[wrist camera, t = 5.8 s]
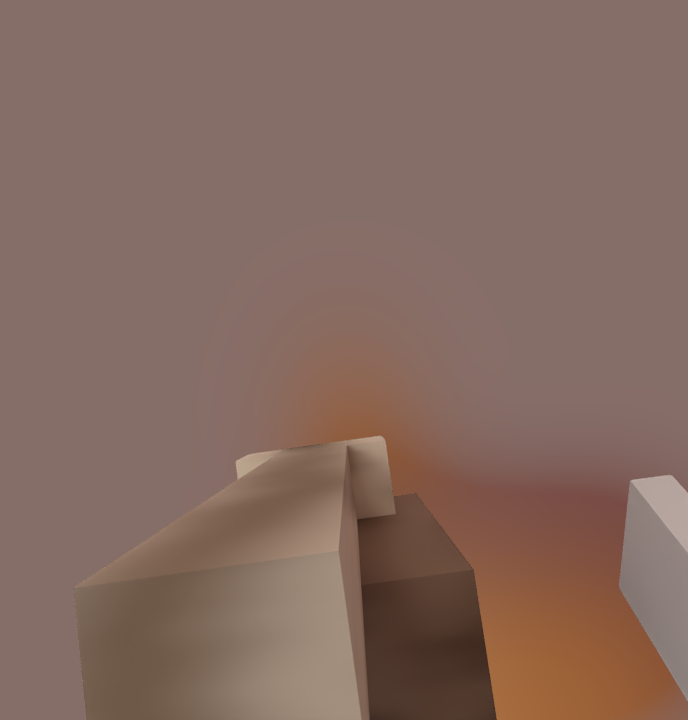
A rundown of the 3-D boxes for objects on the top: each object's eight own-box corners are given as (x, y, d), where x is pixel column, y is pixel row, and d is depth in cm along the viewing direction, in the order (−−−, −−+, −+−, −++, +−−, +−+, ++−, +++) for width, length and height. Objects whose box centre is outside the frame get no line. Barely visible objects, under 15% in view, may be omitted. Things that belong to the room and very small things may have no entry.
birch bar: (-44, 891, 7) (-68, 607, 8) (258, 518, 31) (250, 454, 31) (521, 810, 7) (478, 531, 8) (389, 500, 31) (380, 435, 31)
